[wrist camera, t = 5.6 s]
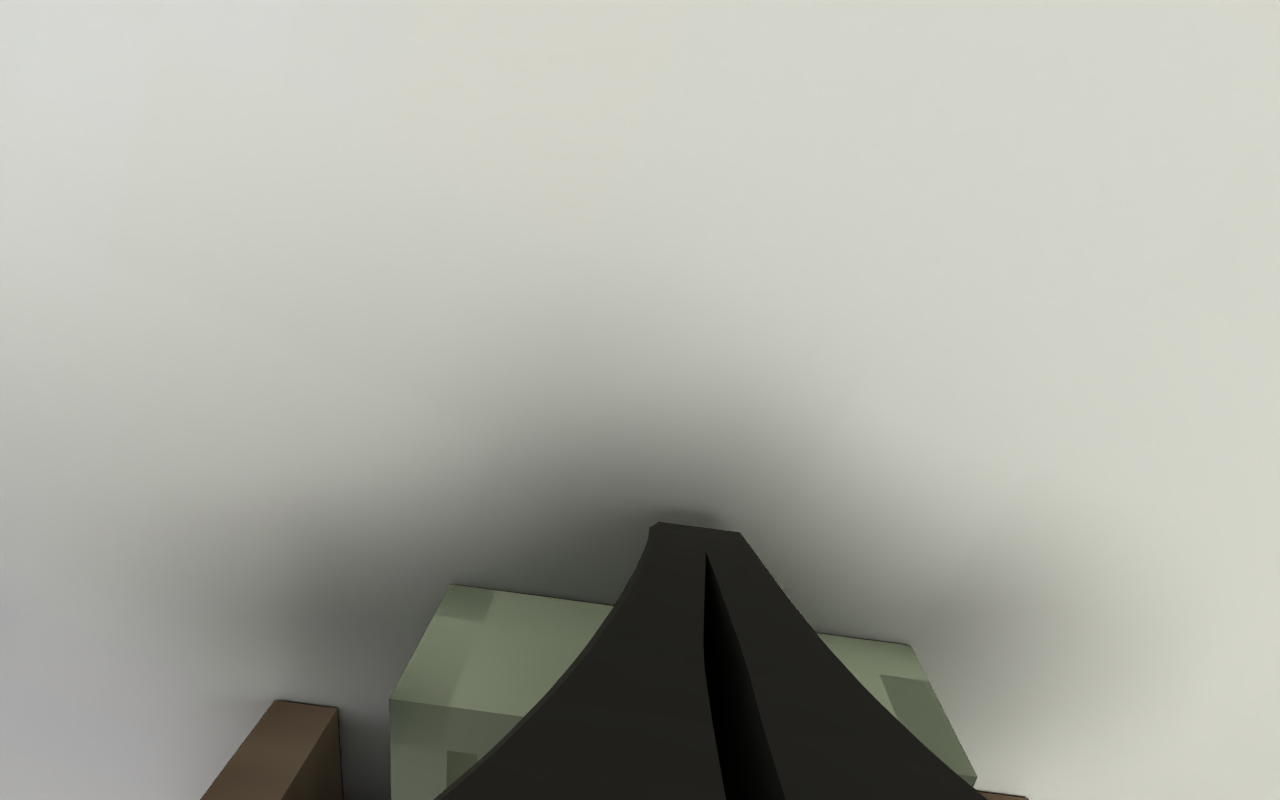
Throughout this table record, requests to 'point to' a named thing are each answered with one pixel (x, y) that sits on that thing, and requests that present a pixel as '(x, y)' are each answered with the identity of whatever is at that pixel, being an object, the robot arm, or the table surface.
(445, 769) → the tray
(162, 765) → the table surface
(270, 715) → the shelf
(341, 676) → the table surface
